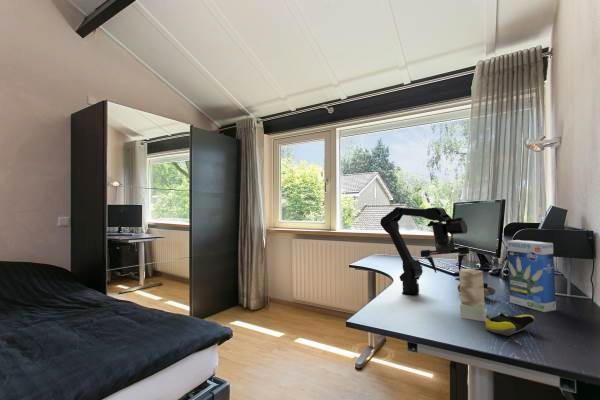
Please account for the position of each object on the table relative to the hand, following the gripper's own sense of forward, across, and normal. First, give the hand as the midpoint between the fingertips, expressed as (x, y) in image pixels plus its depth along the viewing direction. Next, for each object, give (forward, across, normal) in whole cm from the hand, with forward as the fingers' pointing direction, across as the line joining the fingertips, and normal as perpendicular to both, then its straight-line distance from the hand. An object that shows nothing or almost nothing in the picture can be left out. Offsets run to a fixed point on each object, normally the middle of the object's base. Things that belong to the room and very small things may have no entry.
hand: (447, 272), depth 125 cm
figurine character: (+14, +9, +13) cm, 21 cm away
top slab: (+12, +6, -14) cm, 20 cm away
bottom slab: (+15, +6, -14) cm, 21 cm away
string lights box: (+16, +28, +7) cm, 33 cm away
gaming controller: (+16, +15, -26) cm, 34 cm away
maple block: (+10, +7, -14) cm, 18 cm away
